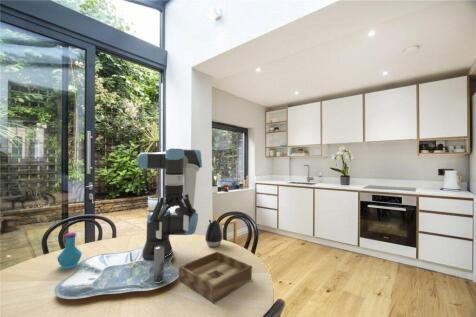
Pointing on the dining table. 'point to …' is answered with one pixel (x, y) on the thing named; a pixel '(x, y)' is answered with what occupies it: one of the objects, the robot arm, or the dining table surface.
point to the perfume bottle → (69, 253)
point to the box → (212, 265)
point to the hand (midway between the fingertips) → (172, 233)
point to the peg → (158, 263)
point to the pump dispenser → (213, 234)
